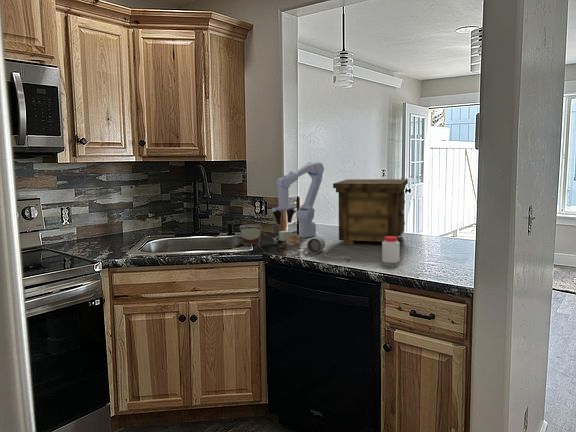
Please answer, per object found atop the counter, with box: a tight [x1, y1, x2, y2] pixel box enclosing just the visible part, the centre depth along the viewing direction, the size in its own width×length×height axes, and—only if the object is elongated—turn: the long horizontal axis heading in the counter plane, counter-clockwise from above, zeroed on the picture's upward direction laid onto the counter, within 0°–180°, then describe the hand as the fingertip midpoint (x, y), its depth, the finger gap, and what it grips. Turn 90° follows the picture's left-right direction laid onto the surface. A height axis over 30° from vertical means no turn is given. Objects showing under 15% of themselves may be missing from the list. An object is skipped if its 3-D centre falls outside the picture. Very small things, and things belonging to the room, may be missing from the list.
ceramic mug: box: [303, 236, 326, 254], centre depth 239 cm, size 11×8×8 cm
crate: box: [332, 178, 409, 245], centre depth 264 cm, size 35×35×33 cm
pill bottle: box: [381, 236, 401, 264], centre depth 216 cm, size 8×8×11 cm
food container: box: [238, 223, 263, 245], centre depth 266 cm, size 12×6×10 cm, turn 84°
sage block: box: [278, 230, 291, 242], centre depth 272 cm, size 4×4×5 cm
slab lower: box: [286, 239, 301, 246], centre depth 261 cm, size 5×5×2 cm
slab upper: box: [287, 233, 301, 241], centre depth 261 cm, size 5×5×2 cm
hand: (284, 223), depth 271 cm, fingers open, 7 cm apart
